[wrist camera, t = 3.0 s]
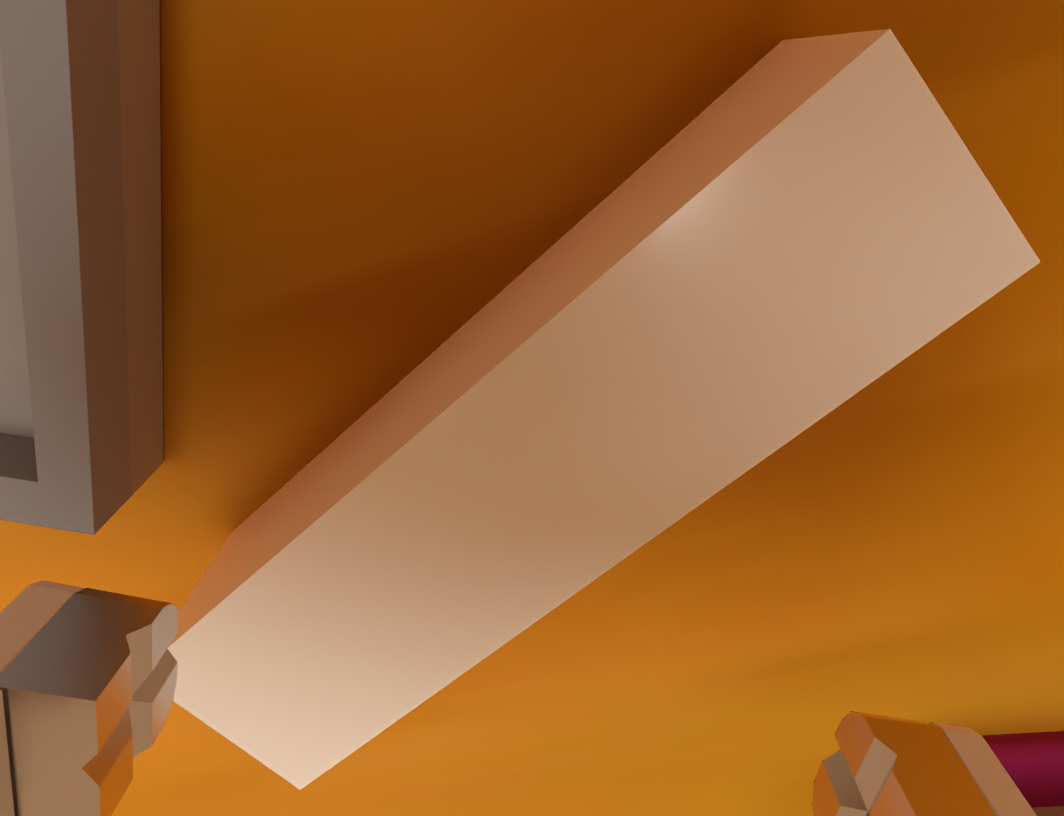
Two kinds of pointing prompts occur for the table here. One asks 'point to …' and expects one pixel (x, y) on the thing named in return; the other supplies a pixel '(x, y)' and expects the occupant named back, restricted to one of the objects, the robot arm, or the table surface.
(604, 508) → the clay strip
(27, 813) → the robot arm
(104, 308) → the divided tray
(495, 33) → the table surface
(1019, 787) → the book
